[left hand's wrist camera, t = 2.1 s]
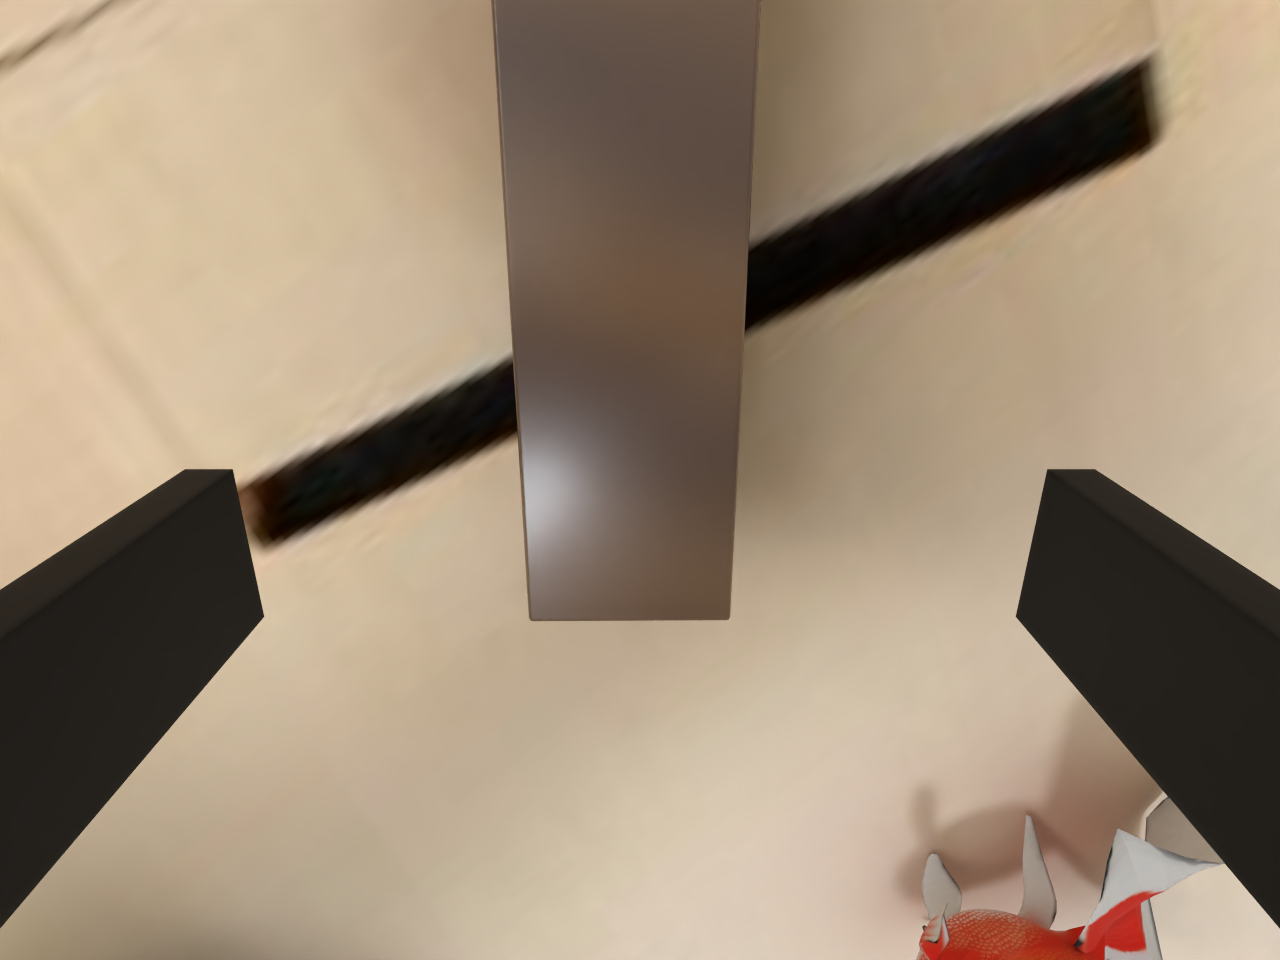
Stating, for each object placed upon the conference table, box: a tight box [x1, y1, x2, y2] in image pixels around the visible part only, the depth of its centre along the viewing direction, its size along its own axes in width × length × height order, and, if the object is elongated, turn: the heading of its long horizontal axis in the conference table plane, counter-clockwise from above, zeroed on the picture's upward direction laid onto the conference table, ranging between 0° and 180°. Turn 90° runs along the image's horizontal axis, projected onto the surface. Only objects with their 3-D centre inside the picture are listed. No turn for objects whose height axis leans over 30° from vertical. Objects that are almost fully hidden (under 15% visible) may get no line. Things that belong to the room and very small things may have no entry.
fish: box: [916, 797, 1224, 960], centre depth 29 cm, size 11×16×10 cm
